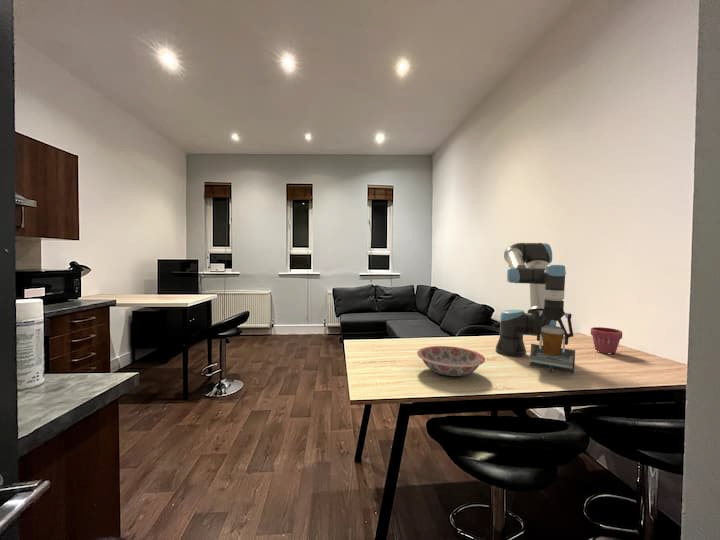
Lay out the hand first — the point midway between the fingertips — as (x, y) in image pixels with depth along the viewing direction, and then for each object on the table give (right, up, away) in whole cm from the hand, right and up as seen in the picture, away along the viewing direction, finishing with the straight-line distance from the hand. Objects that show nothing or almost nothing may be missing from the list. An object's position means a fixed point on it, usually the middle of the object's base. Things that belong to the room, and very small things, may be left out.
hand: (551, 349), depth 148 cm
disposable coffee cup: (0, -2, 0) cm, 2 cm away
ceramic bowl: (-46, -10, 0) cm, 47 cm away
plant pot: (+52, -11, +37) cm, 65 cm away
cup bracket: (+1, -11, +3) cm, 11 cm away
